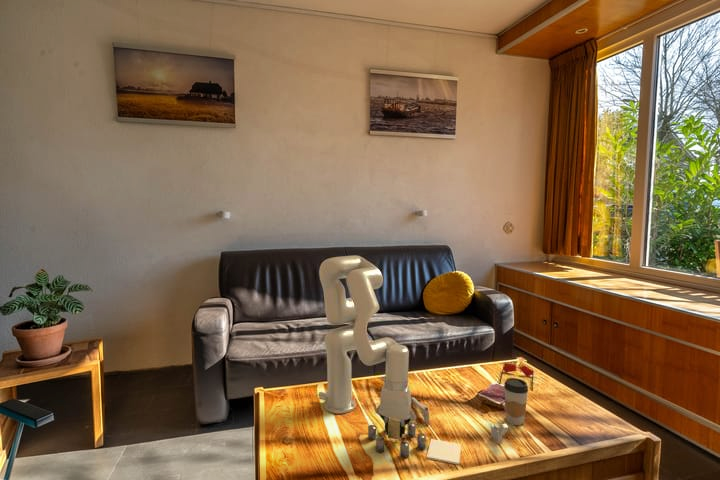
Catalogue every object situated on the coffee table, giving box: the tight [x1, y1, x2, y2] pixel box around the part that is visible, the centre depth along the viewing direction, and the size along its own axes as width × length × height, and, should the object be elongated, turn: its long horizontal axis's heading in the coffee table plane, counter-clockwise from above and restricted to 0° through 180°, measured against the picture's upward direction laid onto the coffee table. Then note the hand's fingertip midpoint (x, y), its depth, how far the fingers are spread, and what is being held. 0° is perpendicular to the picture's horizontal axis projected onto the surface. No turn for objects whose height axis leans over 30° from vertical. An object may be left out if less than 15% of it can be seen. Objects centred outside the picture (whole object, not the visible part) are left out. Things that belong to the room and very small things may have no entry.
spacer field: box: [367, 421, 427, 460], centre depth 133 cm, size 20×15×4 cm
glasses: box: [498, 363, 534, 392], centre depth 181 cm, size 14×16×5 cm
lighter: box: [490, 423, 509, 445], centre depth 133 cm, size 7×2×8 cm, turn 16°
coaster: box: [426, 438, 462, 465], centre depth 128 cm, size 10×10×1 cm
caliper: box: [411, 396, 430, 426], centre depth 154 cm, size 20×1×6 cm, turn 9°
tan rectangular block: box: [387, 417, 401, 441], centre depth 134 cm, size 4×4×6 cm
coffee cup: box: [503, 377, 529, 426], centre depth 146 cm, size 8×8×15 cm
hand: (394, 433), depth 134 cm, fingers closed on tan rectangular block, 4 cm apart
